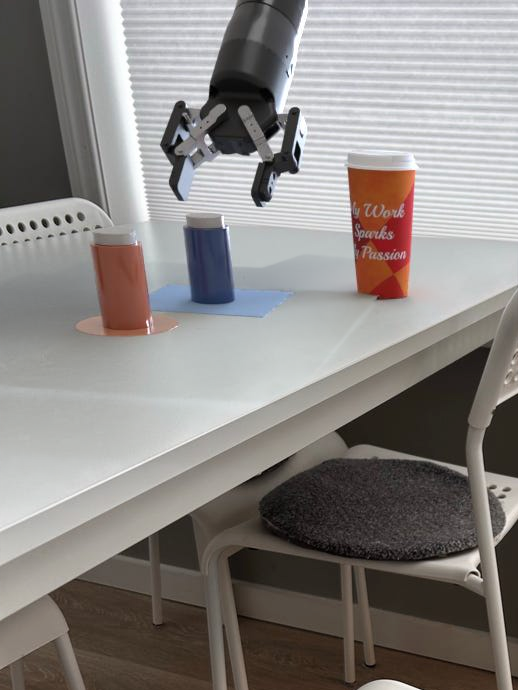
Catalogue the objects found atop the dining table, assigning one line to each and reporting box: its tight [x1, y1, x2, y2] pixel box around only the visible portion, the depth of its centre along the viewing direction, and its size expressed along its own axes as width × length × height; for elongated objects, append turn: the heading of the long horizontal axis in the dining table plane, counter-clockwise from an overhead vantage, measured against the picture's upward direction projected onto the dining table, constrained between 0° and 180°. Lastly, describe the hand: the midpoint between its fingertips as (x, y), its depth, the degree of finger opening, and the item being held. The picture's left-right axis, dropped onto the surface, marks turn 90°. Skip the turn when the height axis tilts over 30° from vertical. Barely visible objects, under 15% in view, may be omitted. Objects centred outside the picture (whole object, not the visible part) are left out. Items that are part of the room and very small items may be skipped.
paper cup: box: [343, 149, 420, 300], centre depth 102 cm, size 8×8×14 cm
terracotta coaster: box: [75, 313, 180, 338], centre depth 87 cm, size 9×9×1 cm
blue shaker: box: [182, 212, 235, 304], centre depth 95 cm, size 4×4×8 cm
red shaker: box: [88, 227, 153, 330], centre depth 85 cm, size 4×4×8 cm
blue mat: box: [149, 284, 295, 318], centre depth 97 cm, size 14×12×1 cm
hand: (217, 198), depth 95 cm, fingers open, 8 cm apart
